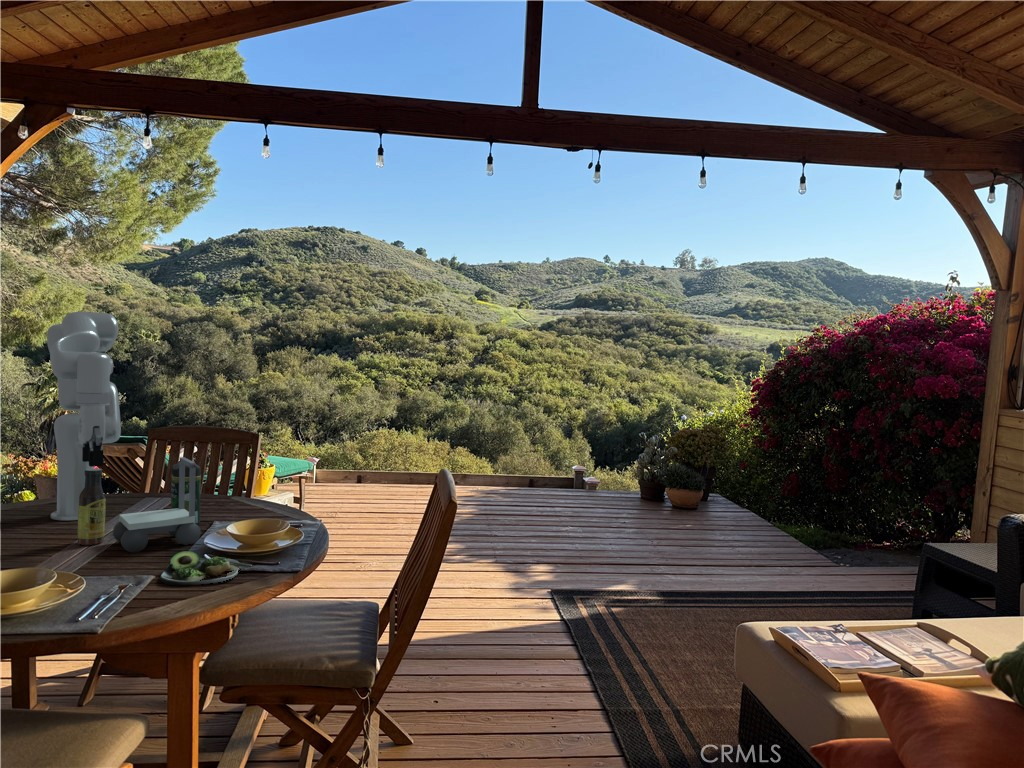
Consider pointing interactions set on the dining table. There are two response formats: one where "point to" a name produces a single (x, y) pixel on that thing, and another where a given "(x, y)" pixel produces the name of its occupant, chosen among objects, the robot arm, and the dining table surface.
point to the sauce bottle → (91, 509)
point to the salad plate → (189, 563)
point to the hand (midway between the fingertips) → (92, 463)
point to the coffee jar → (176, 489)
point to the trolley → (162, 518)
